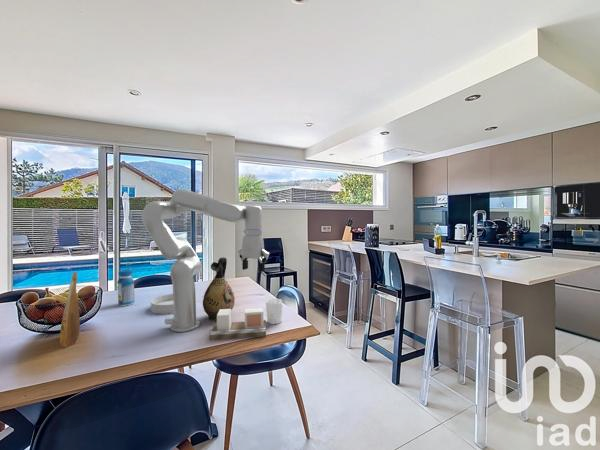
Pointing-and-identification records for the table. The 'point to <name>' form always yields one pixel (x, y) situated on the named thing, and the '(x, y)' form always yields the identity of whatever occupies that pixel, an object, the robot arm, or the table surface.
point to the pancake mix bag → (70, 316)
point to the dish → (163, 304)
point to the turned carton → (224, 320)
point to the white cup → (274, 311)
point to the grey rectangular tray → (237, 331)
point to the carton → (254, 318)
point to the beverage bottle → (125, 288)
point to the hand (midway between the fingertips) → (253, 270)
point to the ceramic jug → (218, 291)
